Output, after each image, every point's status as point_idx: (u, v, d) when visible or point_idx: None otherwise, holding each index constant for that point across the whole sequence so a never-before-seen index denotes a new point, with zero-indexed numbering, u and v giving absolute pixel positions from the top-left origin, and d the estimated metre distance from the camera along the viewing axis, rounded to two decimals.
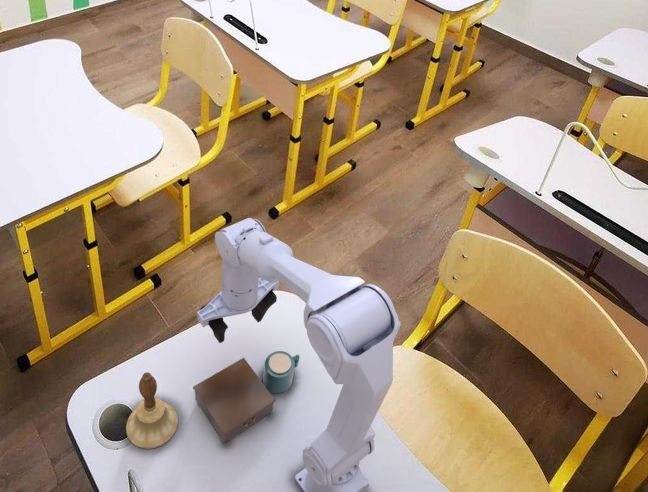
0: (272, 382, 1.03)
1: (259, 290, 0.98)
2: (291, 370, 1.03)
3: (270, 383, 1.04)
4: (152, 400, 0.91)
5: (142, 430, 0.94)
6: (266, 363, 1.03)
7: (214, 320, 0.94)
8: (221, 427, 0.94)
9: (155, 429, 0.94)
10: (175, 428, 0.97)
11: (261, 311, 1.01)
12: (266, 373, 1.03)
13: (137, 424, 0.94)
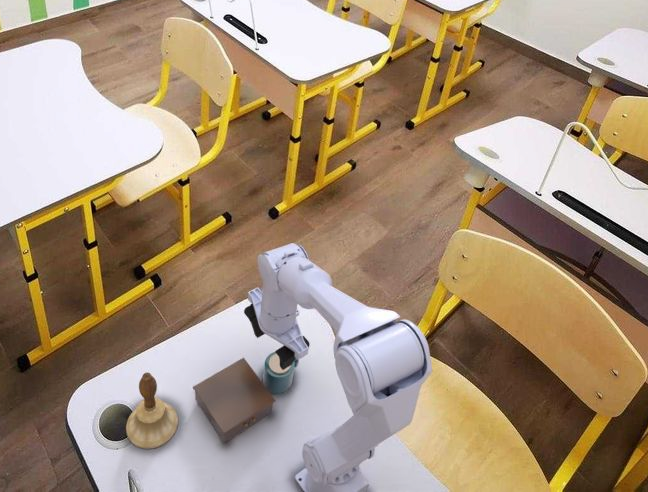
0: (272, 382, 1.03)
1: (287, 337, 0.94)
2: (291, 370, 1.03)
3: (270, 383, 1.04)
4: (152, 400, 0.91)
5: (142, 430, 0.94)
6: (266, 363, 1.03)
7: None
8: (221, 427, 0.94)
9: (155, 429, 0.94)
10: (175, 428, 0.97)
11: None
12: (266, 373, 1.03)
13: (137, 424, 0.94)
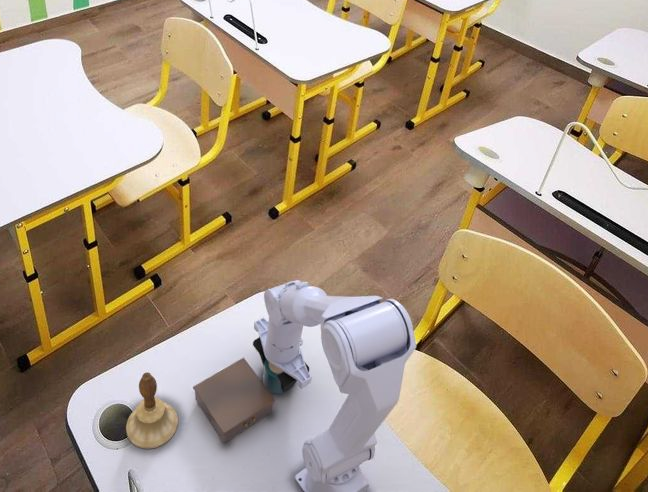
0: (272, 382, 1.03)
1: (291, 367, 0.98)
2: None
3: (270, 383, 1.04)
4: (152, 400, 0.91)
5: (142, 430, 0.94)
6: (266, 363, 1.03)
7: None
8: (221, 427, 0.94)
9: (155, 429, 0.94)
10: (175, 428, 0.97)
11: None
12: (266, 373, 1.03)
13: (137, 424, 0.94)
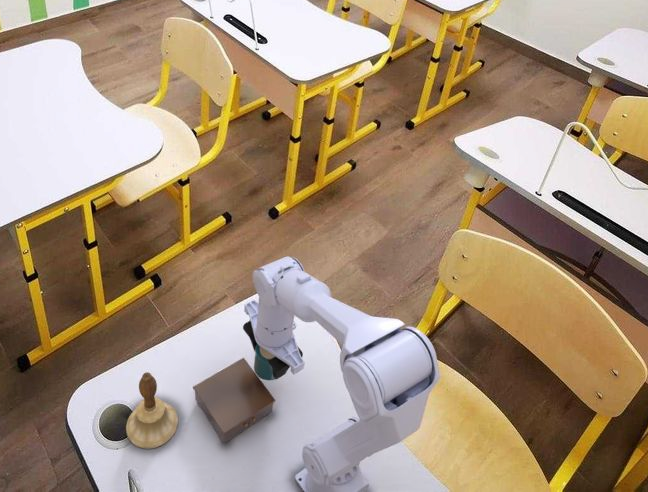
0: (263, 368, 0.97)
1: (283, 351, 0.92)
2: None
3: (261, 370, 0.98)
4: (152, 400, 0.91)
5: (142, 430, 0.94)
6: (257, 348, 0.97)
7: None
8: (221, 427, 0.94)
9: (155, 429, 0.94)
10: (175, 428, 0.97)
11: None
12: (257, 358, 0.97)
13: (137, 424, 0.94)
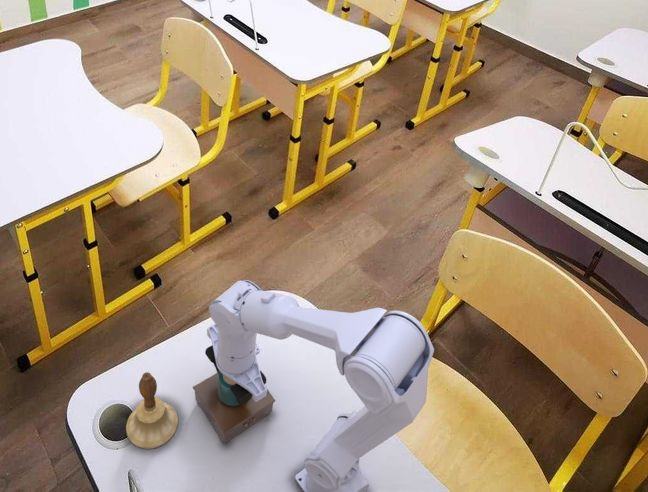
0: (226, 394, 0.94)
1: (245, 378, 0.89)
2: None
3: (224, 395, 0.95)
4: (152, 400, 0.91)
5: (142, 430, 0.94)
6: (220, 373, 0.94)
7: None
8: (221, 427, 0.94)
9: (155, 429, 0.94)
10: (175, 428, 0.97)
11: None
12: (220, 384, 0.94)
13: (137, 424, 0.94)
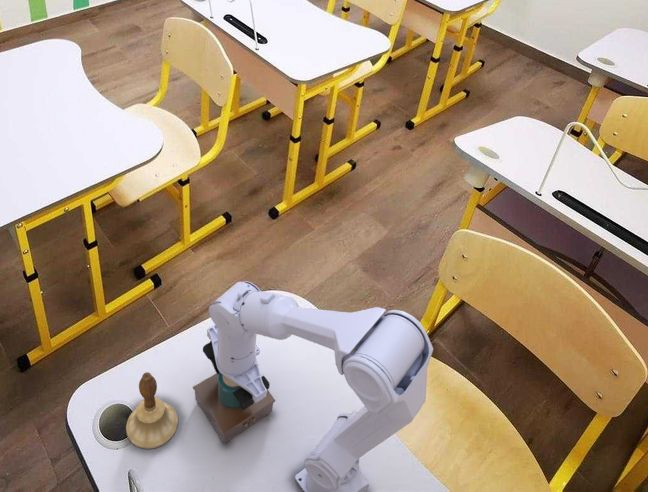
0: (226, 396, 0.95)
1: (245, 378, 0.90)
2: None
3: (224, 397, 0.95)
4: (152, 400, 0.91)
5: (142, 430, 0.94)
6: (220, 375, 0.95)
7: None
8: (221, 427, 0.94)
9: (155, 429, 0.94)
10: (175, 428, 0.97)
11: None
12: (220, 386, 0.94)
13: (137, 424, 0.94)
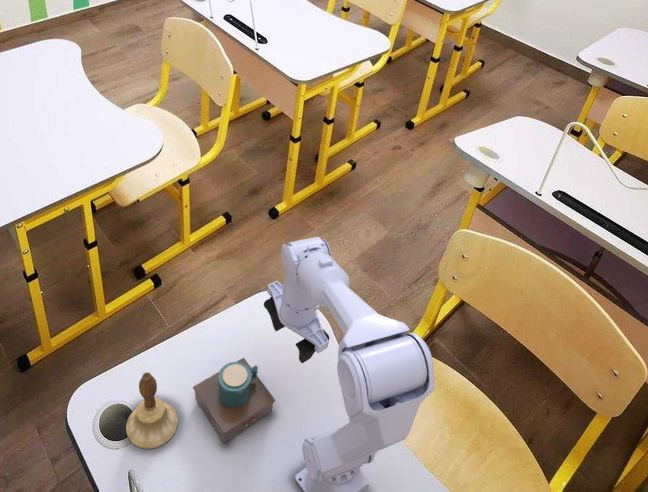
0: (226, 396, 0.95)
1: (307, 330, 0.94)
2: (247, 383, 0.94)
3: (224, 397, 0.95)
4: (152, 400, 0.91)
5: (142, 430, 0.94)
6: (220, 375, 0.95)
7: None
8: (221, 427, 0.94)
9: (155, 429, 0.94)
10: (175, 428, 0.97)
11: (300, 350, 0.96)
12: (220, 386, 0.94)
13: (137, 424, 0.94)
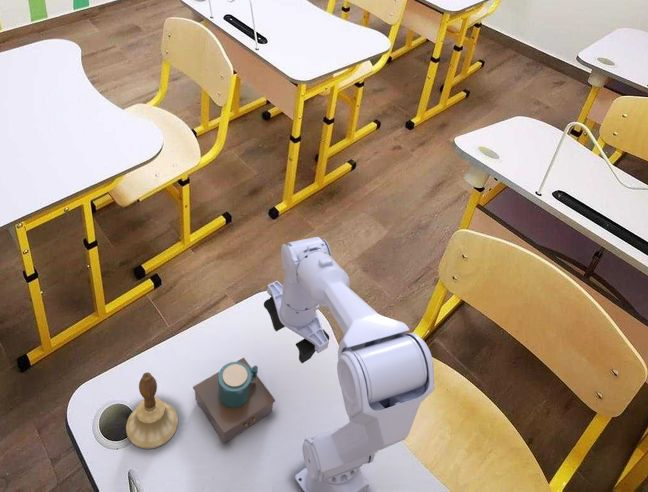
0: (226, 396, 0.95)
1: (307, 330, 0.94)
2: (247, 383, 0.94)
3: (224, 397, 0.95)
4: (152, 400, 0.91)
5: (142, 430, 0.94)
6: (220, 375, 0.95)
7: None
8: (221, 427, 0.94)
9: (155, 429, 0.94)
10: (175, 428, 0.97)
11: (300, 350, 0.96)
12: (220, 386, 0.94)
13: (137, 424, 0.94)
